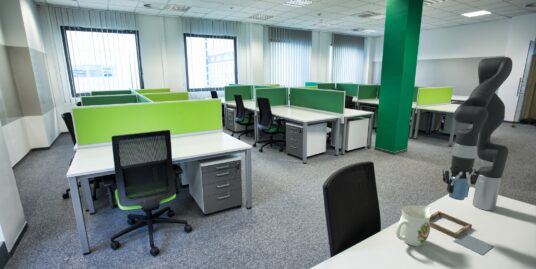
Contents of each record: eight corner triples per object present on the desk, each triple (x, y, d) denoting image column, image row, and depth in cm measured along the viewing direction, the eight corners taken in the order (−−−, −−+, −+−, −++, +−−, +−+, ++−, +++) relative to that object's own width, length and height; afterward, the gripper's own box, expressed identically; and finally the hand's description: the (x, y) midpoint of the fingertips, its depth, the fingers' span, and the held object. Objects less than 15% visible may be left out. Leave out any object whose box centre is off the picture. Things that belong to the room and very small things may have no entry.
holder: (438, 214, 130) (438, 211, 129) (471, 228, 118) (472, 224, 117) (421, 222, 122) (422, 219, 122) (455, 238, 111) (456, 234, 110)
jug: (445, 194, 116) (449, 174, 114) (458, 194, 116) (462, 175, 114) (458, 202, 108) (461, 182, 106) (471, 203, 108) (475, 182, 106)
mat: (465, 233, 114) (465, 233, 114) (493, 246, 106) (493, 245, 105) (453, 241, 109) (453, 240, 109) (482, 255, 101) (482, 254, 100)
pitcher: (383, 240, 110) (387, 210, 107) (413, 229, 117) (416, 200, 114) (407, 256, 100) (411, 223, 97) (437, 243, 108) (442, 212, 105)
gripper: (475, 152, 112) (468, 189, 116) (440, 152, 113) (434, 188, 117) (489, 157, 105) (481, 197, 109) (451, 157, 106) (445, 196, 109)
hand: (457, 192), depth 113 cm, fingers closed on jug, 5 cm apart
